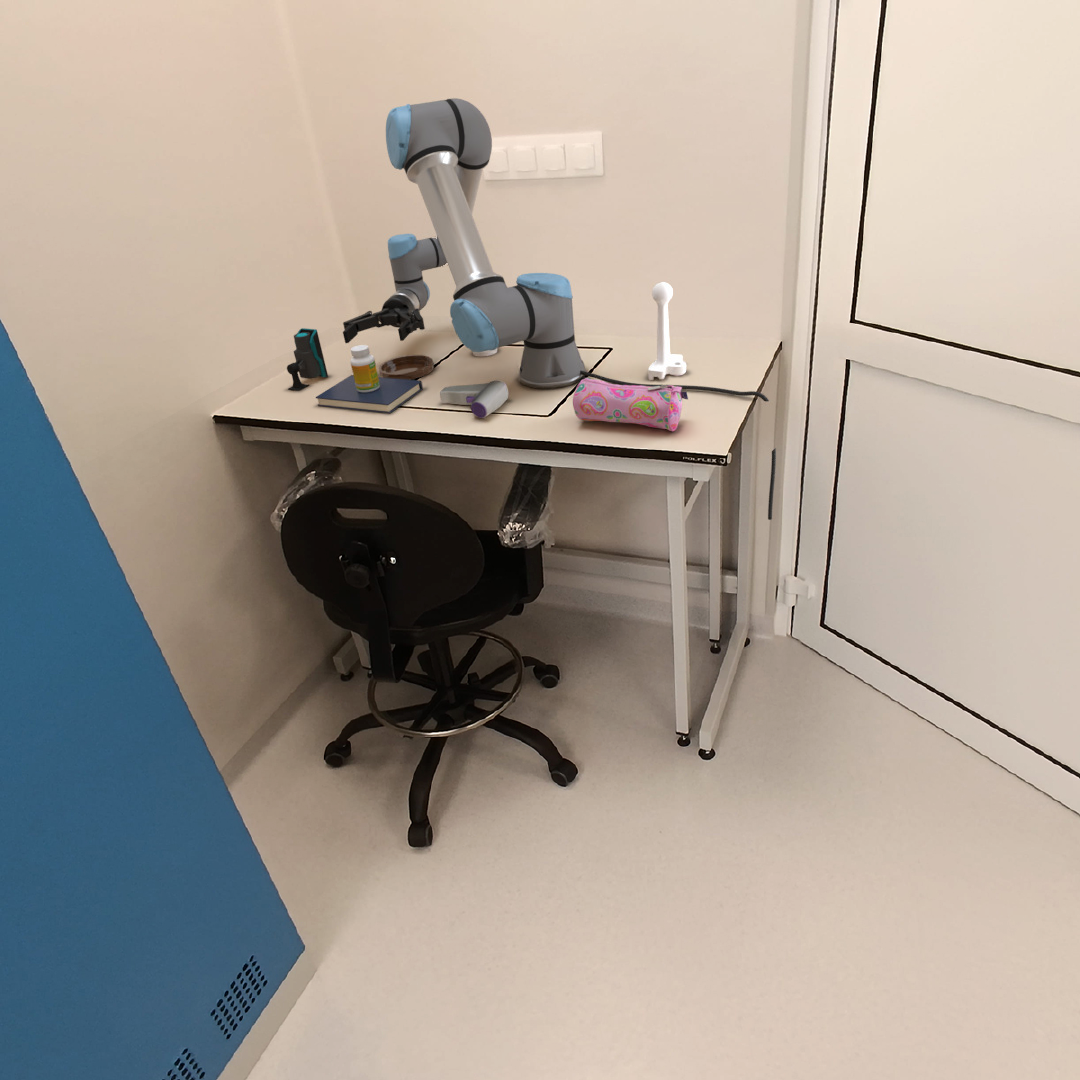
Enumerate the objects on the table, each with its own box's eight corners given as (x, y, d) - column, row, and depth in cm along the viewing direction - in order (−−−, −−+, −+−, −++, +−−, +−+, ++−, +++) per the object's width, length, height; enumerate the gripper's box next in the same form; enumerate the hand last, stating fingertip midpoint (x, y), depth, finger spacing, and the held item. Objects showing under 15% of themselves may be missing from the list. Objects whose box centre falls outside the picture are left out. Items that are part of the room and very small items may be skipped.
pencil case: (688, 419, 159) (688, 376, 154) (674, 439, 152) (674, 394, 148) (589, 409, 168) (586, 368, 163) (571, 427, 161) (568, 385, 156)
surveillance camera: (271, 341, 190) (300, 328, 197) (285, 389, 196) (312, 374, 203) (289, 343, 187) (318, 329, 195) (302, 391, 194) (329, 376, 201)
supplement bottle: (377, 392, 182) (368, 350, 177) (354, 394, 183) (345, 352, 178) (382, 383, 187) (373, 342, 182) (359, 385, 187) (350, 344, 182)
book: (423, 389, 187) (421, 380, 186) (389, 413, 177) (388, 404, 176) (353, 383, 195) (351, 374, 194) (317, 406, 185) (315, 397, 184)
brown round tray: (445, 366, 199) (443, 359, 198) (405, 385, 191) (403, 377, 190) (408, 358, 207) (407, 351, 206) (368, 376, 198) (367, 369, 198)
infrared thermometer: (450, 400, 182) (511, 398, 177) (427, 422, 173) (491, 421, 167) (446, 381, 180) (507, 378, 175) (422, 402, 170) (486, 400, 165)
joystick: (665, 362, 187) (664, 274, 177) (695, 365, 183) (696, 276, 173) (644, 379, 180) (641, 289, 169) (675, 383, 176) (674, 291, 165)
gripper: (449, 321, 204) (426, 349, 186) (357, 325, 209) (326, 353, 191) (445, 291, 200) (421, 317, 182) (351, 296, 205) (319, 322, 187)
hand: (372, 336), depth 187 cm, fingers open, 13 cm apart
